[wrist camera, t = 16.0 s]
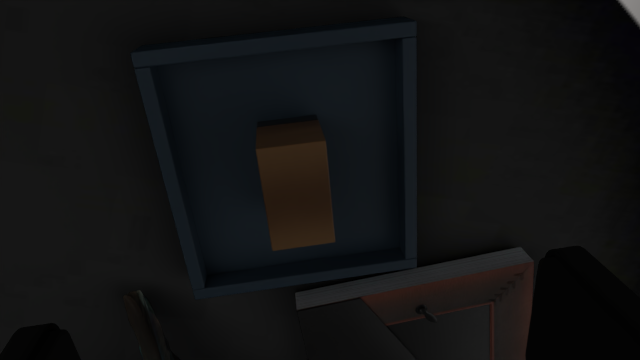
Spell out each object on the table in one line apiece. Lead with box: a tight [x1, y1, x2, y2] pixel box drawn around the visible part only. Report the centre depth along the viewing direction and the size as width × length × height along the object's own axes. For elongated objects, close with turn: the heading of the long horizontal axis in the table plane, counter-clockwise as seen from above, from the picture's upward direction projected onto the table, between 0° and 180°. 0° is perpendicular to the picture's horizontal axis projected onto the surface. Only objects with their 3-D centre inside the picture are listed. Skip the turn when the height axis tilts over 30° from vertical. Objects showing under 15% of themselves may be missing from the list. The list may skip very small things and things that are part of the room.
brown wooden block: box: [256, 115, 335, 251], centre depth 26 cm, size 6×4×4 cm, turn 5°
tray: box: [130, 17, 417, 300], centre depth 28 cm, size 16×15×2 cm
